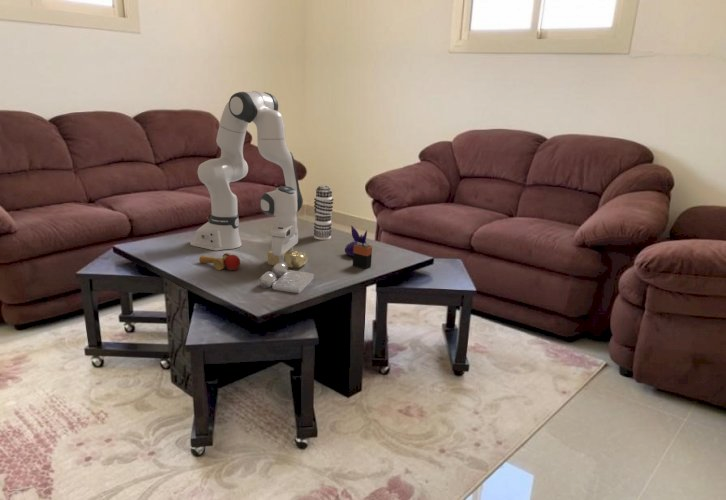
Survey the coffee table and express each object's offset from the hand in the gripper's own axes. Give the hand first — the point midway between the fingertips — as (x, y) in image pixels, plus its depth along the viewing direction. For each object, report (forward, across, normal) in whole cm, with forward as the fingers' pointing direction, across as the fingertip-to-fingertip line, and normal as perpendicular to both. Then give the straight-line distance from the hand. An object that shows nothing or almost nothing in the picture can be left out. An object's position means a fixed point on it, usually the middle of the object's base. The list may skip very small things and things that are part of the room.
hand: (285, 259), depth 215 cm
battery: (+2, -10, +30) cm, 32 cm away
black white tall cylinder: (+2, -43, +2) cm, 43 cm away
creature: (+2, -25, +24) cm, 35 cm away
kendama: (+2, +13, -23) cm, 26 cm away
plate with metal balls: (+2, +19, +8) cm, 21 cm away
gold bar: (+2, 0, +1) cm, 2 cm away
